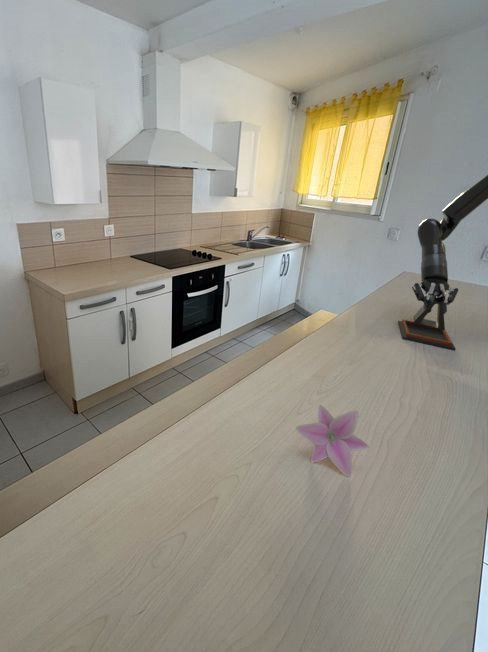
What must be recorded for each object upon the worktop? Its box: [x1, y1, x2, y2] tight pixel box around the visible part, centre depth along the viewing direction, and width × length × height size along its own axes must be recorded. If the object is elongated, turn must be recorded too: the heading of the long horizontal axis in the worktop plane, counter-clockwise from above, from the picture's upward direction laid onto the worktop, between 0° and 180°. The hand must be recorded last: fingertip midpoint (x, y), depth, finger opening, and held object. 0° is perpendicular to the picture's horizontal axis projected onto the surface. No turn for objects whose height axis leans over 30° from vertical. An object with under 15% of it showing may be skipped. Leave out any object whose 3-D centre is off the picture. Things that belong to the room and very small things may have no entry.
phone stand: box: [412, 289, 446, 330], centre depth 111 cm, size 9×6×12 cm, turn 58°
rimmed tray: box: [397, 319, 456, 351], centre depth 115 cm, size 15×15×2 cm
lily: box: [295, 404, 370, 478], centre depth 63 cm, size 12×12×10 cm
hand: (435, 313), depth 110 cm, fingers closed on phone stand, 3 cm apart
